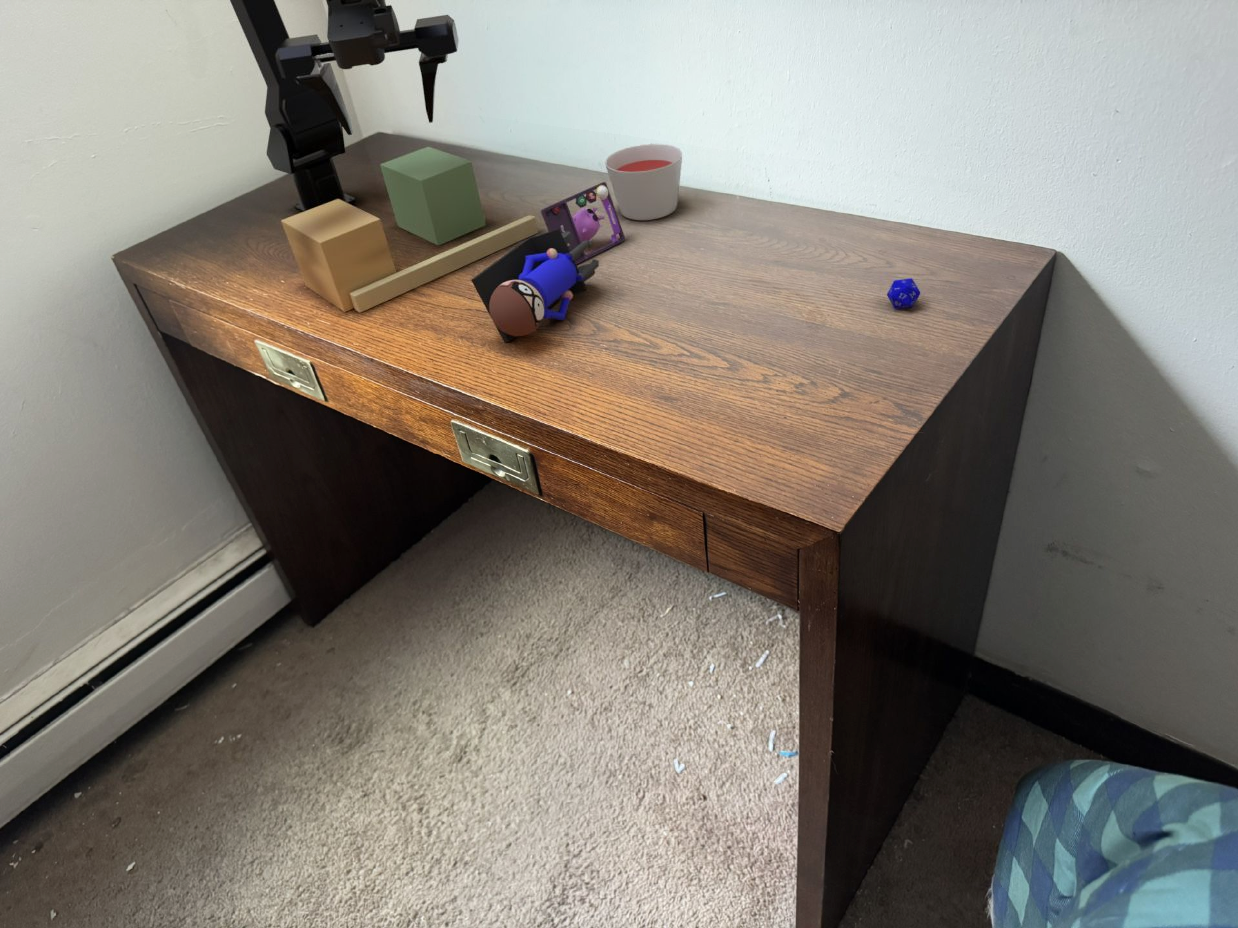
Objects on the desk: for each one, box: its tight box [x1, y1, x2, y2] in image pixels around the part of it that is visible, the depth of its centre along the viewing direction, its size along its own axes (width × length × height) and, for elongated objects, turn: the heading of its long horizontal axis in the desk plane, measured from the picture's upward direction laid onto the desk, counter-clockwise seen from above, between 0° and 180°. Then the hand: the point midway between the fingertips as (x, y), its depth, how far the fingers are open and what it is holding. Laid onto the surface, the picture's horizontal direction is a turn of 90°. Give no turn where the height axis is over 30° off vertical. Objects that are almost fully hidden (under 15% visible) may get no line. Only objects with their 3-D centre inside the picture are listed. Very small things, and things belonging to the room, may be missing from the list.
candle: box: [604, 143, 683, 221], centre depth 103 cm, size 9×9×6 cm
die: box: [886, 277, 921, 310], centre depth 79 cm, size 3×3×3 cm
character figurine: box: [470, 229, 600, 343], centre depth 84 cm, size 8×7×15 cm
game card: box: [540, 181, 626, 265], centre depth 97 cm, size 7×5×9 cm
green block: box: [379, 146, 487, 247], centre depth 106 cm, size 10×7×8 cm
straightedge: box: [350, 214, 539, 314], centre depth 98 cm, size 1×24×2 cm, turn 131°
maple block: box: [280, 199, 397, 313], centre depth 95 cm, size 10×7×8 cm
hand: (391, 128), depth 98 cm, fingers open, 9 cm apart
